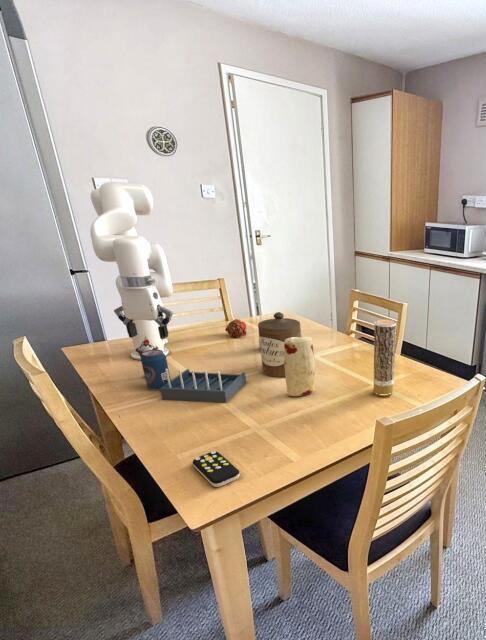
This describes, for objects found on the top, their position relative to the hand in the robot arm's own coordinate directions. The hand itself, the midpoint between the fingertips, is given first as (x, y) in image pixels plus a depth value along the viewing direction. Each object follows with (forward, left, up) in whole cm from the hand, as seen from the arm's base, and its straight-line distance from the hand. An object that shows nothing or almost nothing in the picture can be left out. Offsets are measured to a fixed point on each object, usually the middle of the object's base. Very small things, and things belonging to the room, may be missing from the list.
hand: (149, 337), depth 128 cm
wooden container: (-20, +35, -17) cm, 44 cm away
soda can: (0, 0, -17) cm, 17 cm away
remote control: (+44, +39, -17) cm, 61 cm away
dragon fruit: (-57, +2, -17) cm, 60 cm away
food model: (0, +47, -17) cm, 50 cm away
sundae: (-8, -7, -17) cm, 21 cm away
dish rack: (+1, +16, -17) cm, 23 cm away
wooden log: (-4, +74, -17) cm, 76 cm away
